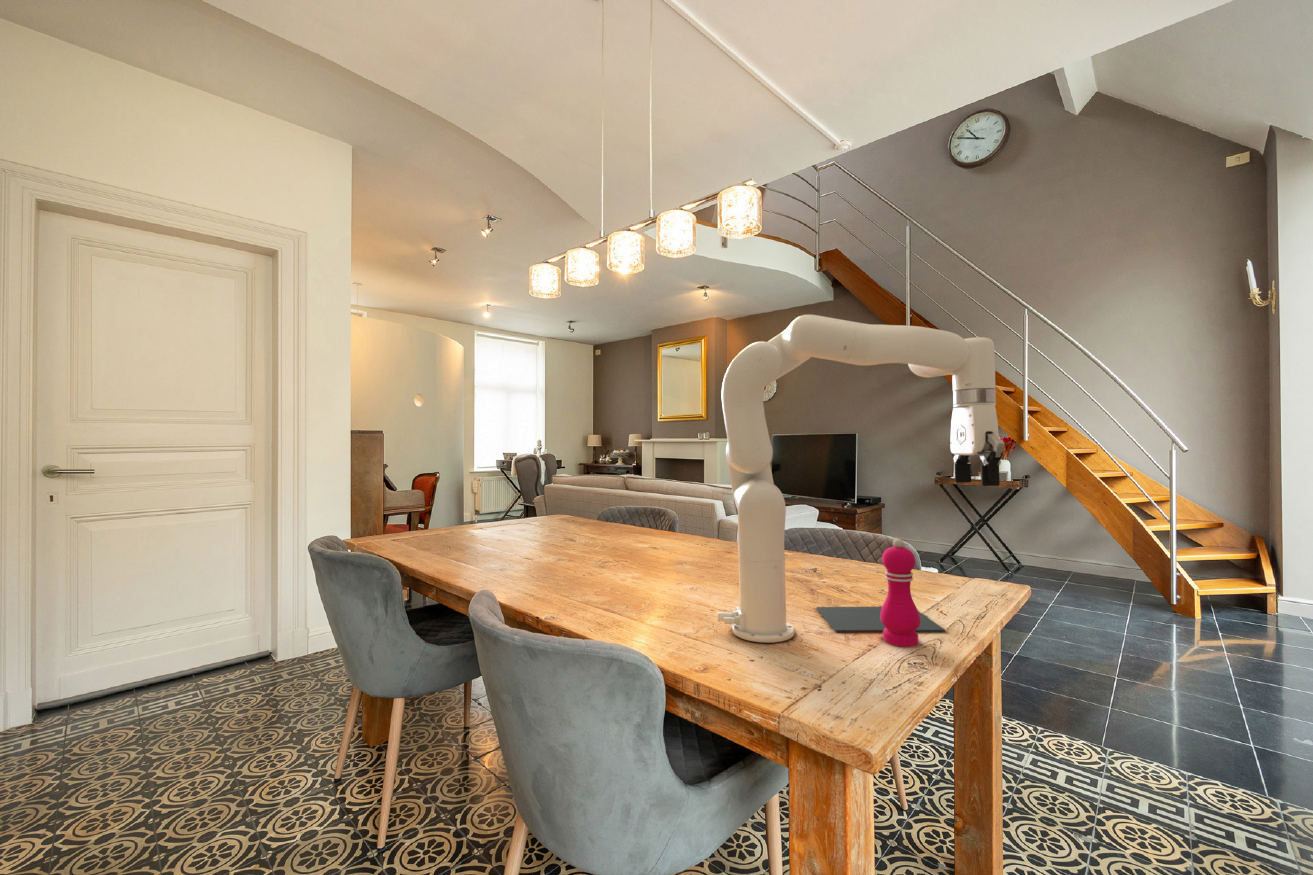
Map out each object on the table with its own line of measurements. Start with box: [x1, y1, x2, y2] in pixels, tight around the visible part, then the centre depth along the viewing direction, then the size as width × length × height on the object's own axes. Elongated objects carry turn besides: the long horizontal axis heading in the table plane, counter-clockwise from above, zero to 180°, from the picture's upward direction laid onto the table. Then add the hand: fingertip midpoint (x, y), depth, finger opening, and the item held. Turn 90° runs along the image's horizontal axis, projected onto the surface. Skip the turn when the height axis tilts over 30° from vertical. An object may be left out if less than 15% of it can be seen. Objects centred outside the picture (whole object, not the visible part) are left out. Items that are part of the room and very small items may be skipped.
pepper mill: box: [880, 538, 921, 648], centre depth 105 cm, size 7×7×20 cm
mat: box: [816, 606, 946, 633], centre depth 118 cm, size 22×16×1 cm
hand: (976, 483), depth 108 cm, fingers open, 9 cm apart
